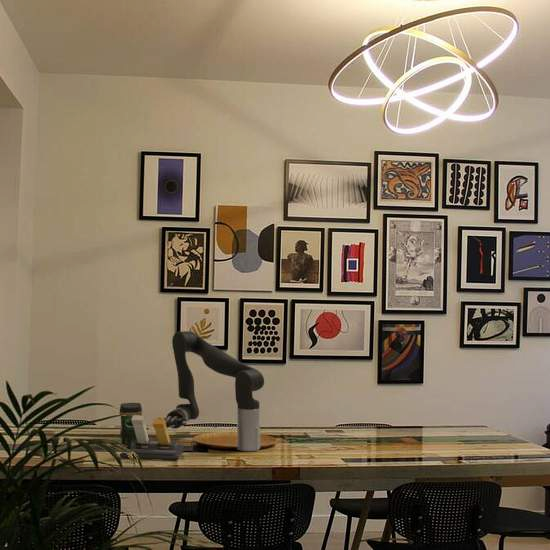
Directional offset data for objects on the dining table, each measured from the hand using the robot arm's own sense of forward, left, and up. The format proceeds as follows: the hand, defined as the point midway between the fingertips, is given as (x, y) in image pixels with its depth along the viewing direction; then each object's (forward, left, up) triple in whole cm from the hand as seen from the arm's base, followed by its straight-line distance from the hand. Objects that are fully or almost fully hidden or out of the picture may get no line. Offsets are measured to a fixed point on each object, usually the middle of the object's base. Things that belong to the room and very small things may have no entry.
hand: (166, 425), depth 314 cm
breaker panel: (+4, +1, -12) cm, 13 cm away
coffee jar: (+19, -12, -12) cm, 26 cm away
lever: (+9, 0, -8) cm, 12 cm away
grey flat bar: (+4, +9, -12) cm, 16 cm away
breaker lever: (0, 0, -8) cm, 8 cm away
